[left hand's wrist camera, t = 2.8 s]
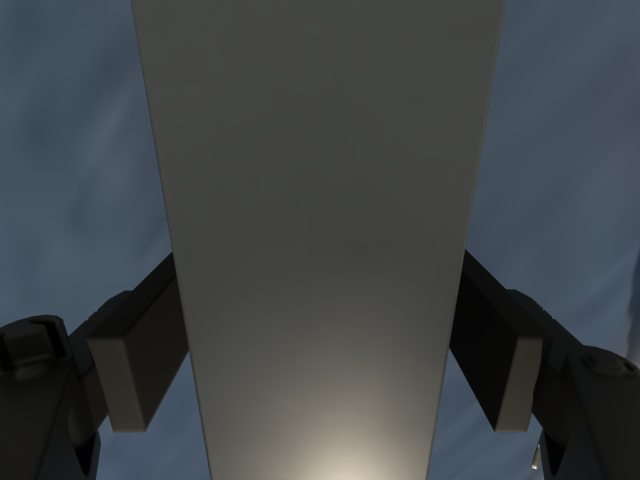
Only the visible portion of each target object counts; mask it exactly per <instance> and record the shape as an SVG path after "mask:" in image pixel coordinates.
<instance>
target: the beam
mask: <svg viewBox="0 0 640 480" xmlns="http://www.w3.org/2000/svg"><path fill="white" fill-rule="evenodd" d="M505 2H506V0H131V6H132V11H133V17H134V23H135V29H136V35H137V41H138V47H139V53H140V59H141V65H142V71H143V77H144V83H145V89H146V95H147V101H148V107H149V113H150V119H151V125H152V131H153V137H154V143H155V149H156V155H157V161H158V167H159V173H160V179H161V185H162V191H163V197H164V203H165V209H166V215H167V221H168V227H169V233H170V239H171V245H172V251H173V257H174V263H175V269H176V275H177V280H178V286H179V292H180V298H181V304H182V310H183V316H184V322H185V328H186V334H187V340H188V346H189V352H190V358H191V364H192V370H193V376H194V382H195V388H196V394H197V400H198V406H199V412H200V418H201V424H202V430H203V436H204V442H205V448H206V454H207V460H208V466H209V472H210V478H211V480H427V478H428V472H429V465H430V459H431V453H432V447H433V441H434V435H435V429H436V423H437V417H438V411H439V404H440V398H441V392H442V386H443V380H444V374H445V368H446V362H447V356H448V350H449V344H450V337H451V331H452V325H453V319H454V313H455V307H456V301H457V295H458V289H459V283H460V277H461V270H462V264H463V258H464V252H465V246H466V240H467V234H468V228H469V222H470V216H471V210H472V203H473V197H474V191H475V185H476V179H477V173H478V167H479V161H480V155H481V149H482V143H483V136H484V130H485V124H486V118H487V112H488V106H489V100H490V94H491V88H492V82H493V76H494V69H495V63H496V57H497V51H498V45H499V39H500V33H501V27H502V21H503V15H504V9H505Z"/></svg>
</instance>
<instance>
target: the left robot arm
mask: <svg viewBox="0 0 640 480" xmlns="http://www.w3.org/2000/svg"><path fill="white" fill-rule="evenodd" d="M449 348H450V350H451V351H452V353H453V355H454V357H455V359H456V361H457V363H458V364H459V366H460V368H461V370H462V372H463V374H464V376H465V378H466V379H467V381H468V383H469V385H470V387H471V389H472V391H473V392H474V394H475V396H476V398H477V400H478V402H479V404H480V406H481V407H482V409H483V411H484V413H485V415H486V417H487V419H488V420H489V422H490V424H491V426H492V428H493V430H494V432H527V429H528V426H529V422H530V419H531V416H532V413H533V414H534V416H535V417H536V419H537V420H538V422H539V423H540V425H541V426H542V427H543V429H542V432H541V436H540V439H539V442H538V445H537V448H536V451H535V455H534V458H533V462H532V468H535V469H537V468H538V465H539V462H540V461H541V460H542V466H543V473H544V480H640V370H639V368H638V367H637V366H635V365H634V364H633V363H631V362H630V361H628V360H627V359H625V358H623V357H621V356H619V355H617V354H615V353H613V352H611V351H608V350H604V349H601V348H598V347H593V346H585V345H583V344H581V343H580V342H579V341H578V340H577V339H576V338H575V337H574V336H573V335H572V334H570V333H569V332H568V331H567V330H566V329H565V328H564V327H563V326H562V325H561V324H559V323H558V322H557V321H556V320H555V319H552V316H551V315H550V314H548V313H547V312H546V311H545V310H543V308H542V307H541V306H540V305H539V304H537V303H536V302H535V301H534V300H533V299H532V298H530V297H528V296H527V295H525V294H523V293H521V292H519V291H517V290H515V289H505V288H504V287H503V286H502V285H501V284H500V283H499V282H498V281H497V280H496V279H495V278H494V277H493V276H492V275H491V274H490V273H489V272H488V271H487V270H486V269H485V268H484V267H483V266H482V265H481V264H480V263H479V262H478V261H477V260H476V259H475V258H474V257H473V256H472V255H471V254H470V253H469V252H468V251H467V250H466V249H465V252H464V258H463V264H462V270H461V277H460V283H459V289H458V295H457V301H456V307H455V313H454V319H453V325H452V331H451V337H450V344H449ZM188 351H189V346H188V340H187V334H186V328H185V322H184V316H183V310H182V304H181V298H180V292H179V286H178V280H177V275H176V269H175V263H174V257H173V251H172V252H171V253H170V254H169V255H168V256H167V257H166V258H165V259H164V260H163V261H162V262H161V263H160V264H159V265H158V266H157V267H156V268H155V269H154V270H153V271H152V272H151V273H150V274H149V275H148V276H147V277H146V278H145V279H144V280H143V281H142V282H141V283H140V284H139V285H138V286H137V287H136V288H135V289H134V290H133V291H123V292H122V293H120V294H118V295H116V296H114V297H112V298H110V299H109V300H108V301H106V302H105V303H104V304H103V305H102V306H101V307H100V308H99V309H98V311H97V312H94V313H93V314H92V315H91V316H90V317H89V318H88V320H86V321H85V322H84V323H82V324H81V325H80V326H79V327H78V328H77V329H76V330H75V331H74V332H73V333H72V334H70V335H69V336H68V335H67V331H66V328H65V325H64V322H63V319H61V318H60V317H58V316H54V315H40V316H32V317H29V318H25V319H21V320H17V321H15V322H13V323H10V324H8V325H5V326H3V327H1V328H0V480H96V474H97V468H98V461H99V454H100V447H101V441H100V436H99V432H98V428H99V426H100V425H101V424H102V422H103V421H104V419H105V418H106V416H107V415H108V416H109V419H110V422H111V426H112V429H113V432H146V430H147V428H148V426H149V424H150V422H151V420H152V419H153V417H154V415H155V413H156V411H157V409H158V407H159V406H160V404H161V402H162V400H163V398H164V396H165V394H166V392H167V391H168V389H169V387H170V385H171V383H172V381H173V379H174V378H175V376H176V374H177V372H178V370H179V368H180V366H181V364H182V363H183V361H184V359H185V357H186V355H187V353H188Z"/></svg>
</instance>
